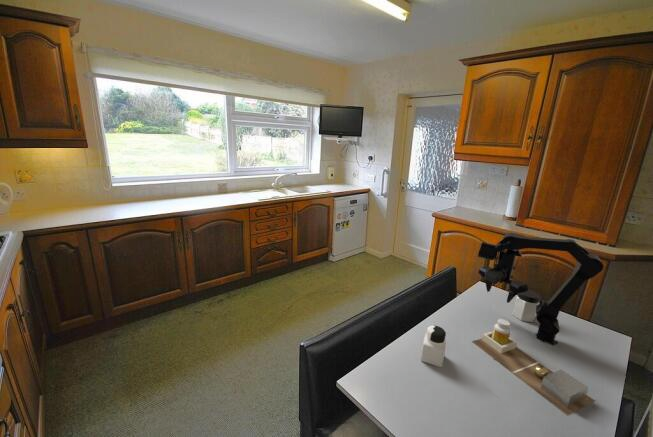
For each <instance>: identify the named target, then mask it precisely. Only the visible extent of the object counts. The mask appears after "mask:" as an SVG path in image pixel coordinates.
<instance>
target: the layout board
mask: <svg viewBox="0 0 653 437" xmlns="http://www.w3.org/2000/svg"><path fill="white" fill-rule="evenodd" d="M471 343H472V344H474V345H475V346H477V347H478V348H479V349H481V350H482V351H483V352H484V353H486V354H487V355H488V356H490V357H491V358H492V359H493V360H495V361H496V362H498V363H499V364H500V365H501V366H502V367H504V368H506V370H508V371H509V372H510V373H512V374H513V376H515V377H516V378H518V379H519V380H521V381H522V382H523V383H525V385H527V386H528V387H530V388H531V389H532V390H533V391H535V392H536V393H537V394H539V395H540V396H541V397H542V398H544V399H545V400H546V401H548V402H549V403H550V404H552V406H554V407H555V408H556V409H557V410H560V411H561V412H562V413H564V415H566V416H570V415H571V414H574V413H575V412H578V410H581V409H583V408H585V407H586V406H588V405H590V404H592V403H594V402H595V401H596V400H595V399H593V398H592V397H590V396H589V395H588V394H586V396H585V399H583V400H582V401H580V402H578V403H576V404H574V405H572V406H570V407H568V408H566V407H564V406H563V405H562V404H560V403H559V402H558V401H556V400H555V399H554V398H553V397H551V396H550V395H549V394H547V393H546V392H545V391H543V390H542V389H541V388H540V387H541V384H542V381H543V380H542V379H539V378H538V377H536V376H535V375H534V370H535V367H536V365H542V366H544V367H546V366H545V365H543V364H542V363H541V362H539V361H538V360H536V359H535V358H533V357H532V356H530V355H529V354H527V353H526V352H524V351H523V350H521V349H520V348H519V347H517V346H516V348H515V349H512V350H509V351H507V352H504V353H500V352H498V351H497V350H496V349H494V348H493V347H491V346H490V345H489V344H487V343H486V342H485V341H483V340H482V338H478V339H476V340H472V341H471ZM546 368H547V369H548V371H549V372H548V375H549V374H552V373H554V372H555V371H554V372H553V371H552V370H551V369H549V368H548V367H546Z"/></svg>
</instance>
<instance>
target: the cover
mask: <svg viewBox="0 0 653 437" xmlns="http://www.w3.org/2000/svg"><path fill="white" fill-rule="evenodd" d="M540 388H541V389H542V390H543V391H545V392H546V393H547V394H549V395H550V396H551V397H553V398H554V399H555V400H556V401H558V402H559V403H560V404H562V405H563V406H564V407H566V408H568V407H570V406H572V405H574V404H576V403H578V402H580V401H582V400H583V399H585V396H586V395H587V393H588V390H589V386H587V385H585V384H584V383H582V381H579V380H578V379H576V378H575V377H573V376H572V375H570V374H569V373H567V372H566V371H564V370H563V369H559V370H556V371H554V373H552V374H549V375H547V376H545V377H544V378H543V381H542V384H541V387H540Z"/></svg>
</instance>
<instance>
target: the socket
mask: <svg viewBox="0 0 653 437" xmlns="http://www.w3.org/2000/svg"><path fill="white" fill-rule="evenodd" d="M492 334H493V330H492V331H488V332H486V333H485V332H484V333H482V338H481V339H482V340H483V341H485V342H486V343H487V344H489V345H490V346H491V347H493V348H494V349H496V350H497V351H498V352H500V353H504V352H507V351H509V350H512V349H515V348H516V347H517V344H518V342H517V341H516V340H514V339H513V338H510V337H509V340H508V344H506V345H503V346H501V345H500V344H499V343H497V342H496V341H494V340H493V339H492Z"/></svg>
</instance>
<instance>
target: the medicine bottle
mask: <svg viewBox="0 0 653 437" xmlns="http://www.w3.org/2000/svg"><path fill="white" fill-rule="evenodd" d="M446 335H447V332H446V331H445V329H444V328H442V327H441V326H438V325H430V326H428V327H427V331H426V332H425V333H424V338H423V342H422V343H423V344H422V350H421V356H420V361H421V362H424V363H427V364H430V365H433V366H436V367H438V368H443V364H444V357H445V353H446V343H447V339H446V337H447V336H446Z"/></svg>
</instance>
